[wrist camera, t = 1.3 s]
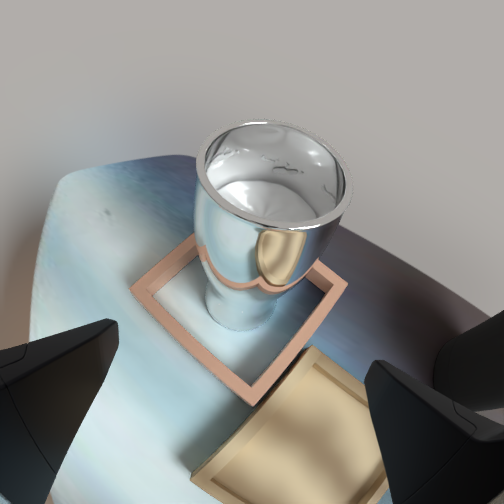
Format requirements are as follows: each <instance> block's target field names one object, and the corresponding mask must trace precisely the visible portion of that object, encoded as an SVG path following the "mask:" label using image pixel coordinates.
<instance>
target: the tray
mask: <svg viewBox="0 0 504 504" xmlns="http://www.w3.org/2000/svg"><path fill="white" fill-rule="evenodd" d="M190 481H191V482H193V483H194V484H195V485H197V486H198V487H200V488H201V489H202V490H204V491H205V492H207V493H208V494H210V495H211V496H213V497H214V498H216V499H217V500H219V501H220V502H222V503H223V504H377V502H378V501H379V500H380V499H381V497H382V496H383V495H384V493H385V492H386V491H387V489H388V488H389V484H388V480H387V476H386V472H385V468H384V464H383V460H382V456H381V452H380V449H379V445H378V441H377V438H376V434H375V431H374V427H373V424H372V420H371V416H370V411H369V406H368V400H367V395H366V389H365V385H364V384H362V383H361V382H360V381H358V380H357V379H356V378H354V377H353V376H352V375H351V374H349V373H348V372H347V371H345V370H344V369H343V368H341V367H340V366H339V365H338V364H336V363H335V362H334V361H332V360H331V359H330V358H329V357H327V356H326V355H325V354H323V353H322V352H321V351H320V350H318V349H317V348H316V347H315V346H313V345H311V346H310V347H308V348H306V349H305V350H304V351H303V352H302V353H301V355H300V356H299V357H298V359H297V360H296V361H295V362H294V364H293V365H292V366H291V367H290V369H289V370H288V371H287V372H286V374H285V375H284V376H283V377H282V379H281V380H280V381H279V382H278V383H277V385H276V386H275V387H274V388H273V389H272V390H271V392H270V393H269V394H268V395H267V396H266V397H265V399H264V400H263V401H262V402H261V403H260V404H259V405H258V407H257V408H256V409H255V410H254V411H253V412H252V413H251V414H250V415H249V417H248V418H247V419H246V420H245V421H244V422H243V423H242V424H241V425H240V426H239V427H238V428H237V429H236V430H235V432H234V433H233V434H232V435H231V436H230V437H229V438H228V439H227V440H226V441H225V442H224V443H223V444H222V445H221V446H220V447H219V448H218V449H217V450H216V451H215V452H214V453H213V454H212V455H211V456H210V457H209V458H208V459H207V460H206V461H204V462H203V463H202V464H201V465H200V466H199V467H198V468H197V469H196V470H195V471H194V472H193V473H192V474H191V477H190Z"/></svg>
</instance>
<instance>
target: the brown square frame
mask: <svg viewBox="0 0 504 504" xmlns="http://www.w3.org/2000/svg"><path fill="white" fill-rule="evenodd" d="M197 255H198V251H197V248H196V242H195V235H194V233H193V234H191V235H190V236H189V237H188V238H187V239H185V240H184V241H183V242H182V243H181V244H179V245H178V246H177V247H176V248H175V249H174V250H172V251H171V252H170V253H169V254H168V255H167V256H165V257H164V258H163V259H162V260H161V261H160V262H158V263H157V264H156V265H155V266H154V267H153V268H151V269H150V270H149V271H148V272H147V273H146V274H145V275H144V276H142V277H141V278H140V279H139V280H138V281H137V282H136V283H135V284H133V285H132V286H131V287H130V288H129V290H130V292H131V293H132V295H133V296H134V298H135V299H136V300H137V301H138V302H139V303H140V304H141V305H142V306H143V308H144V309H145V310H146V311H147V312H148V313H149V314H150V315H151V316H152V317H153V318H154V319H155V320H156V321H157V322H158V323H159V324H160V325H161V326H162V327H163V329H164V330H165V331H166V332H167V333H168V334H169V335H170V336H171V337H172V338H174V339H175V340H176V341H177V342H178V343H179V344H180V345H181V346H182V347H183V348H184V349H185V350H186V351H187V352H188V353H189V354H190V355H191V356H192V357H193V358H194V359H196V360H197V361H198V362H199V363H200V364H201V365H202V366H203V367H204V368H205V369H207V370H208V371H209V372H210V373H211V374H212V375H213V376H214V377H216V378H217V379H218V380H219V381H220V382H221V383H223V384H224V385H225V386H226V387H227V388H229V389H230V390H231V391H232V392H233V393H235V394H236V395H237V396H238V397H239V398H241V399H242V400H243V401H244V402H246V403H247V404H248V405H249V406H254V405H255V404H256V403H257V402H258V401H259V400H260V399H261V397H262V396H263V395H264V394H265V393H266V392H267V390H268V389H269V388H270V387H271V386H272V385H273V383H274V382H275V381H276V380H277V379H278V377H279V376H280V375H281V374H282V373H283V371H284V370H285V369H286V368H287V366H288V365H289V364H290V363H291V362H292V360H293V359H294V358H295V356H296V355H297V354H298V353H299V351H300V350H301V349H302V348H303V346H304V345H305V344H306V342H307V341H308V340H309V338H310V337H311V336H312V334H313V333H314V332H315V330H316V329H317V328H318V326H319V325H320V324H321V322H322V321H323V319H324V318H325V317H326V315H327V314H328V312H329V311H330V310H331V308H332V307H333V305H334V304H335V303H336V301H337V300H338V298H339V297H340V295H341V294H342V292H343V291H344V289H345V288H346V286H347V285H348V283H347V282H345V281H344V280H343V279H342V278H340V277H339V276H338V275H337V274H335V273H334V272H333V271H332V270H330V269H329V268H328V267H327V266H325V265H324V264H323V263H321V262H320V261H319V260H318V262H317V263H316V264H315V266H314V267H313V268H312V270H311V271H310V272H309V273H308V275H307V276H306V278H307V279H308V280H310V281H311V282H312V283H313V284H315V285H316V286H317V287H318V288H320V289H321V290H322V291H323V292H325V293H326V294H325V295H324V296H323V298H322V299H321V300H320V302H319V303H318V304H317V306H316V307H315V308H314V310H313V311H312V312H311V314H310V315H309V316H308V318H307V319H306V320H305V321H304V323H303V324H302V325H301V327H300V328H299V329H298V330H297V332H296V333H295V334H294V335H293V337H292V338H291V339H290V340H289V342H288V343H287V344H286V345H285V346H284V348H283V349H282V350H281V351H280V353H279V354H278V355H277V356H276V357H275V359H274V360H273V361H272V362H271V363H270V364H269V366H268V367H267V368H266V369H265V370H264V371H263V373H262V374H261V375H260V376H259V377H258V378H257V379H256V381H255V382H254V383H253V384H252V385H251V386H249V385H248V384H246V383H245V382H244V381H243V380H242V379H240V378H239V377H238V376H237V375H236V374H234V373H233V372H232V371H231V370H230V369H228V368H227V367H226V366H225V365H224V364H223V363H222V362H220V361H219V360H218V359H217V358H216V357H215V356H214V355H212V354H211V353H210V352H209V351H208V350H207V349H206V348H205V347H204V346H202V345H201V344H200V343H199V342H198V341H197V340H196V339H195V338H194V337H193V336H192V335H191V334H190V333H189V332H187V331H186V330H185V329H184V328H183V327H182V326H181V325H180V324H179V323H178V322H177V321H176V320H175V319H174V318H173V317H172V316H171V315H170V314H169V313H168V312H167V311H166V310H165V309H164V308H163V307H162V306H161V305H160V304H159V303H158V302H157V301H156V300H155V299H154V298H153V297H152V296H153V295H154V294H155V293H156V292H157V291H158V290H159V289H160V288H162V287H163V286H164V285H165V284H166V283H167V282H168V281H169V280H170V279H172V278H173V277H174V276H175V275H176V274H177V273H178V272H179V271H180V270H182V269H183V268H184V267H185V266H186V265H187V264H188V263H189V262H191V261H192V260H193V259H194V258H195V257H196V256H197Z"/></svg>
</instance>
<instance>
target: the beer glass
mask: <svg viewBox="0 0 504 504" xmlns="http://www.w3.org/2000/svg"><path fill="white" fill-rule="evenodd" d="M352 195H353V180H352V176H351V173H350V170H349V168H348V166H347V164H346V162H345V161H344V159H343V158H342V157H341V155H340V154H339V153H338V152H337V151H336V150H335V149H334V148H333V147H332V146H331V145H330V144H329V143H328V142H326V141H325V140H324V139H322V138H321V137H319V136H317V135H316V134H314V133H312V132H310V131H308V130H306V129H304V128H301V127H299V126H296V125H293V124H290V123H286V122H281V121H276V120H268V119H252V120H243V121H238V122H234V123H231V124H229V125H226V126H224V127H221V128H220V129H218V130H216V131H215V132H213V133H212V134H211V135H210V136H209V137H208V138H207V139H206V140H205V141H204V142H203V144H202V145H201V147H200V149H199V151H198V154H197V159H196V181H195V190H194V205H193V225H194V235H195V242H196V248H197V251H198V255H199V258H200V261H201V264H202V267H203V269H204V271H205V273H206V276H207V278H208V280H209V281H208V283H207V286H206V290H205V302H206V306H207V309H208V311H209V313H210V315H211V316H212V317H213V318H214V320H215V321H217V322H218V323H219V324H220V325H222V326H224V327H225V328H228V329H230V330H234V331H249V330H253V329H256V328H258V327H260V326H262V325H263V324H265V323H266V322H267V321H268V320H269V319H270V317H271V316H272V314H273V312H274V310H275V307H276V303H277V299H279V298H280V297H282V296H283V295H284V294H286V293H287V292H289V291H290V290H291V289H293V288H294V287H295V286H296V285H297V284H298V283H299V282H301V281H302V280H303V279H304V278H305V277H306V276H307V275H308V273H309V272H310V271H311V270H312V268H313V267H314V266H315V264H316V263H317V262H318V260H319V259H320V257H321V256H322V254H323V252H324V251H325V249H326V248H327V246H328V244H329V242H330V240H331V238H332V236H333V234H334V233H335V231H336V229H337V226H338V224H339V222H340V220H341V218H342V216H343V214H344V212H345V210H346V209H347V207H348V206H349V204H350V202H351V199H352Z"/></svg>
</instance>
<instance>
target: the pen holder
mask: <svg viewBox="0 0 504 504" xmlns="http://www.w3.org/2000/svg"><path fill="white" fill-rule="evenodd" d="M434 388H435V391H437V392H439V393H441V394H442V395H444V396H446V397H448V398H449V399H451V400H452V401H455V402H456V403H458V404H460V405H462V406H464V407H465V408H467V409H469V410H471V411H473V412H476V411H484V410H492V409H498V408H504V310H503V311H501V312H500V313H499V314H497V315H495V316H493V317H492V318H490V319H488V320H486V321H485V322H483V323H481V324H479V325H478V326H476V327H474V328H472V329H470V330H468V331H466V332H465V333H463V334H461V335H459V336H457V337H455V338H453V339H452V340H450V341H449V342H447V343H446V344H445V345H444V346H443V348H442V349H441V351H440V353H439V355H438V357H437V360H436V363H435V368H434Z"/></svg>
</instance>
